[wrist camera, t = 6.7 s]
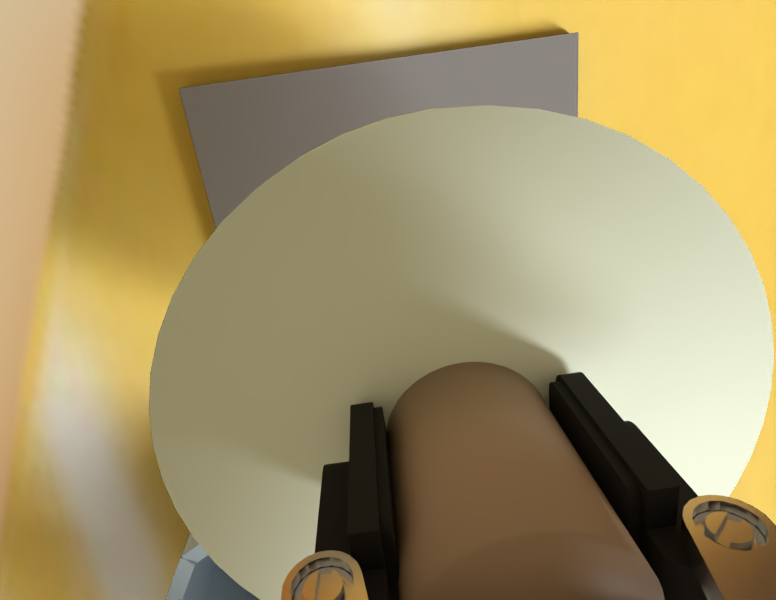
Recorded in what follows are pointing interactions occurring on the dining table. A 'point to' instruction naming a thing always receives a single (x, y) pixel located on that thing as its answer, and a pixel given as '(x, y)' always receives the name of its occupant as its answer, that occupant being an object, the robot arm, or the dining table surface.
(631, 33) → the dining table surface
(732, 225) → the lid
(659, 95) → the dining table surface
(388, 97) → the mat
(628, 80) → the dining table surface
